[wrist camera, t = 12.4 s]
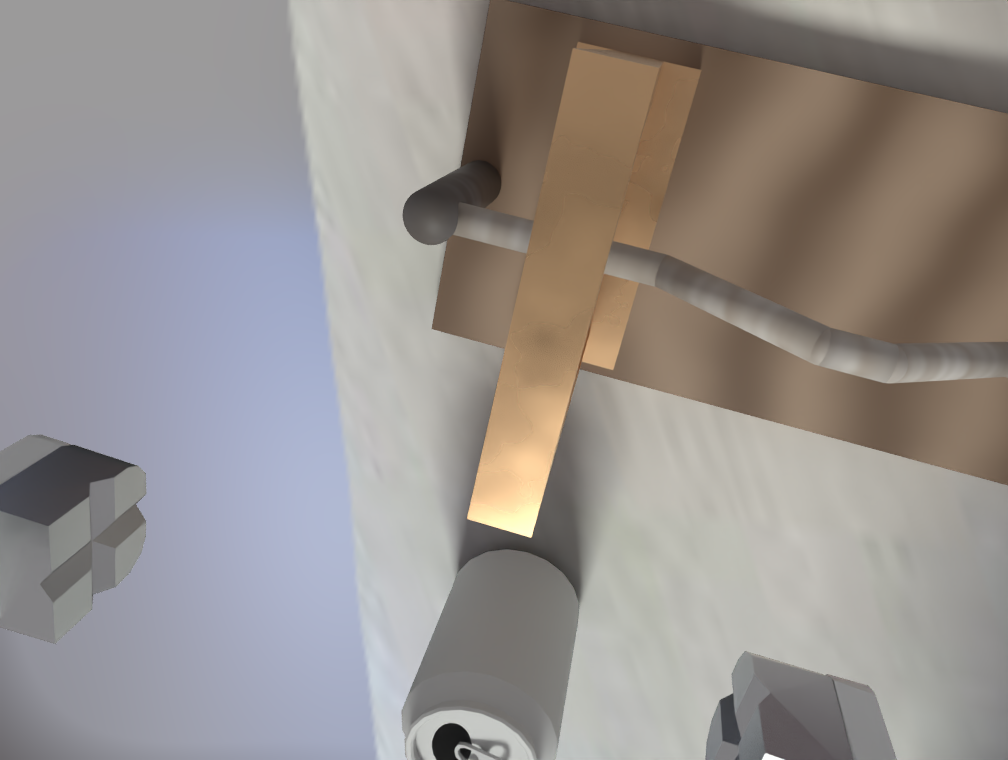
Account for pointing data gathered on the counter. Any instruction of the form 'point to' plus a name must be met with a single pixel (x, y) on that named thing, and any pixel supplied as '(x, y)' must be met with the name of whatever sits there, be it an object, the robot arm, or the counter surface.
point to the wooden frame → (578, 263)
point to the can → (495, 664)
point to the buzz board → (763, 242)
